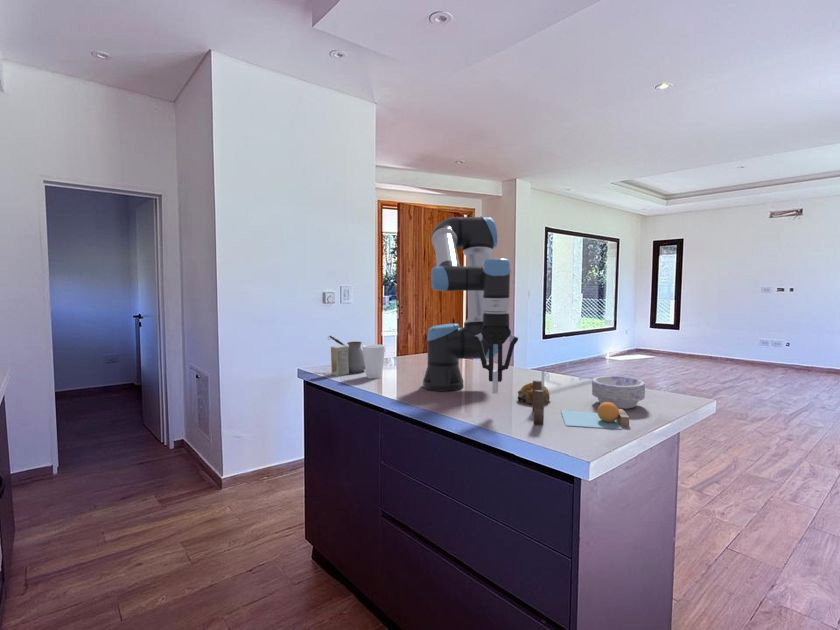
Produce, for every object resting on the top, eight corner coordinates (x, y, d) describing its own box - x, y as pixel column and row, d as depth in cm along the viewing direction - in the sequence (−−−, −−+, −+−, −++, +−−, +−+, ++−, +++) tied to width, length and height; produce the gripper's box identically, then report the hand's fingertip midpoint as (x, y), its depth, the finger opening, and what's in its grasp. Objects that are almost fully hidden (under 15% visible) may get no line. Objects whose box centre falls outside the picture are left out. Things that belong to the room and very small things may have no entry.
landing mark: (560, 411, 133) (560, 410, 133) (610, 414, 130) (610, 413, 130) (565, 426, 120) (565, 425, 120) (621, 429, 117) (621, 428, 117)
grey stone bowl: (584, 406, 139) (584, 381, 139) (601, 396, 151) (601, 373, 150) (636, 415, 129) (637, 388, 129) (650, 404, 141) (651, 379, 140)
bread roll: (545, 417, 140) (556, 395, 139) (515, 402, 142) (526, 380, 141) (542, 408, 150) (553, 387, 149) (514, 394, 152) (525, 373, 150)
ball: (598, 420, 126) (593, 401, 126) (618, 416, 125) (613, 397, 125) (602, 427, 121) (597, 407, 121) (623, 422, 120) (618, 403, 120)
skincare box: (343, 372, 194) (342, 344, 193) (349, 374, 191) (348, 345, 190) (330, 374, 190) (330, 346, 189) (336, 376, 186) (336, 347, 186)
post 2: (533, 421, 123) (533, 389, 123) (543, 422, 123) (543, 390, 122) (533, 424, 121) (534, 392, 120) (543, 425, 120) (544, 392, 120)
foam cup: (384, 379, 180) (384, 347, 179) (361, 379, 180) (361, 347, 179) (386, 374, 190) (386, 344, 189) (364, 374, 190) (364, 344, 189)
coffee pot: (373, 370, 199) (372, 337, 198) (356, 374, 190) (355, 339, 189) (338, 365, 211) (337, 334, 210) (320, 369, 201) (319, 336, 200)
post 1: (532, 409, 136) (532, 380, 135) (541, 409, 135) (541, 380, 135) (532, 411, 133) (532, 382, 133) (541, 412, 133) (541, 382, 132)
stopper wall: (614, 417, 127) (615, 408, 127) (622, 417, 127) (622, 409, 127) (621, 425, 120) (621, 416, 119) (629, 426, 119) (629, 417, 119)
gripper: (472, 313, 126) (471, 394, 129) (519, 313, 124) (517, 397, 126) (474, 311, 134) (474, 387, 136) (519, 311, 131) (517, 390, 133)
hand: (495, 392), depth 131 cm, fingers closed
